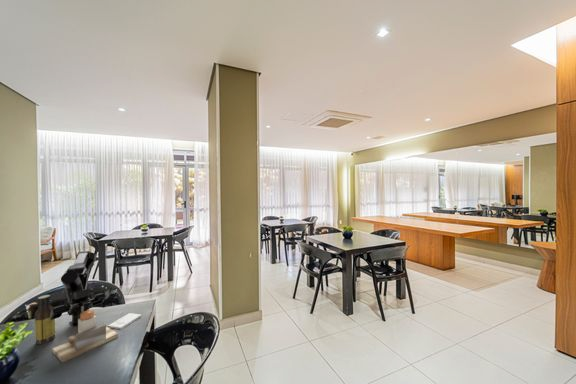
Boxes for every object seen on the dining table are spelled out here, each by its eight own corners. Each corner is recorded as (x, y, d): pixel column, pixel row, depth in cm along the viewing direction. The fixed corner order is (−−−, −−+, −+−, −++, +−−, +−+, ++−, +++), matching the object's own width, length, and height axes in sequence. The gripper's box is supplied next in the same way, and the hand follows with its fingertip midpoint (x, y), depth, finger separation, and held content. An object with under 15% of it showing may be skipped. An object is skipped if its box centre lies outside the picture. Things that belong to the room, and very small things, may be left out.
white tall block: (77, 342, 102) (77, 313, 102) (92, 336, 106) (92, 308, 106) (82, 345, 99) (82, 316, 99) (96, 339, 103) (96, 311, 104)
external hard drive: (141, 317, 126) (120, 330, 114) (128, 315, 128) (107, 328, 115) (141, 314, 126) (120, 327, 114) (129, 312, 128) (107, 325, 115)
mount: (52, 352, 98) (52, 333, 98) (106, 329, 114) (106, 313, 114) (62, 362, 91) (62, 343, 92) (118, 336, 108) (118, 320, 108)
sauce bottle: (57, 334, 110) (57, 292, 110) (51, 342, 104) (51, 297, 104) (38, 338, 107) (38, 295, 107) (31, 346, 101) (31, 300, 101)
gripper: (52, 289, 99) (60, 322, 93) (104, 275, 114) (115, 304, 109) (45, 303, 103) (54, 336, 97) (97, 288, 118) (107, 316, 113)
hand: (84, 322), depth 104 cm, fingers closed, pressing on white tall block
